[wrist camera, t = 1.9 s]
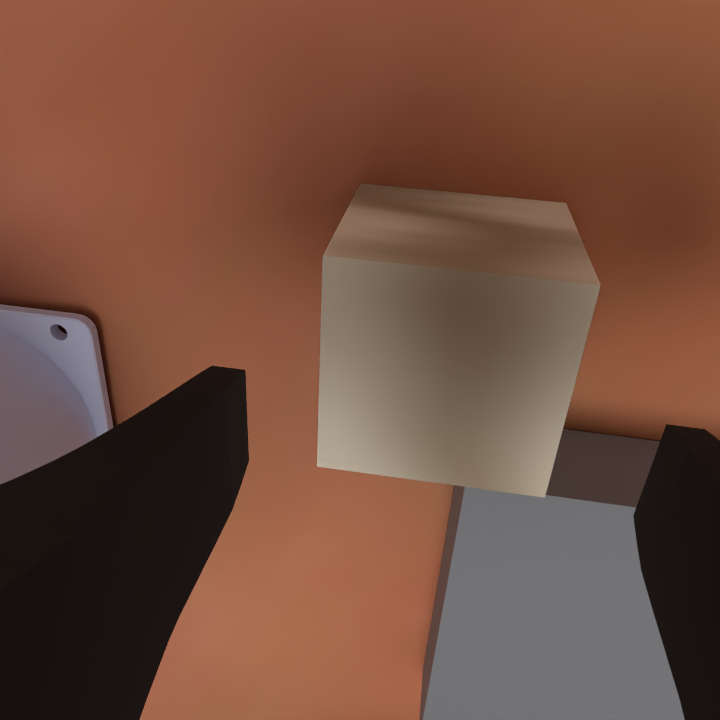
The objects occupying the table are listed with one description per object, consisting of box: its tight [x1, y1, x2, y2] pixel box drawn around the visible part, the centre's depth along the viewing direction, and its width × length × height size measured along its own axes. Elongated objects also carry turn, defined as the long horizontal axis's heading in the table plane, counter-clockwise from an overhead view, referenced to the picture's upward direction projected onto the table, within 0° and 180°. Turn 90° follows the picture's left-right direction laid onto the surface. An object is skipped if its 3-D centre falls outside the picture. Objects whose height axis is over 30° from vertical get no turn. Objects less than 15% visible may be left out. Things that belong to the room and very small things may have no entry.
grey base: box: [420, 429, 685, 720], centre depth 20 cm, size 12×12×3 cm
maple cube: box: [317, 183, 601, 498], centre depth 15 cm, size 5×5×5 cm
